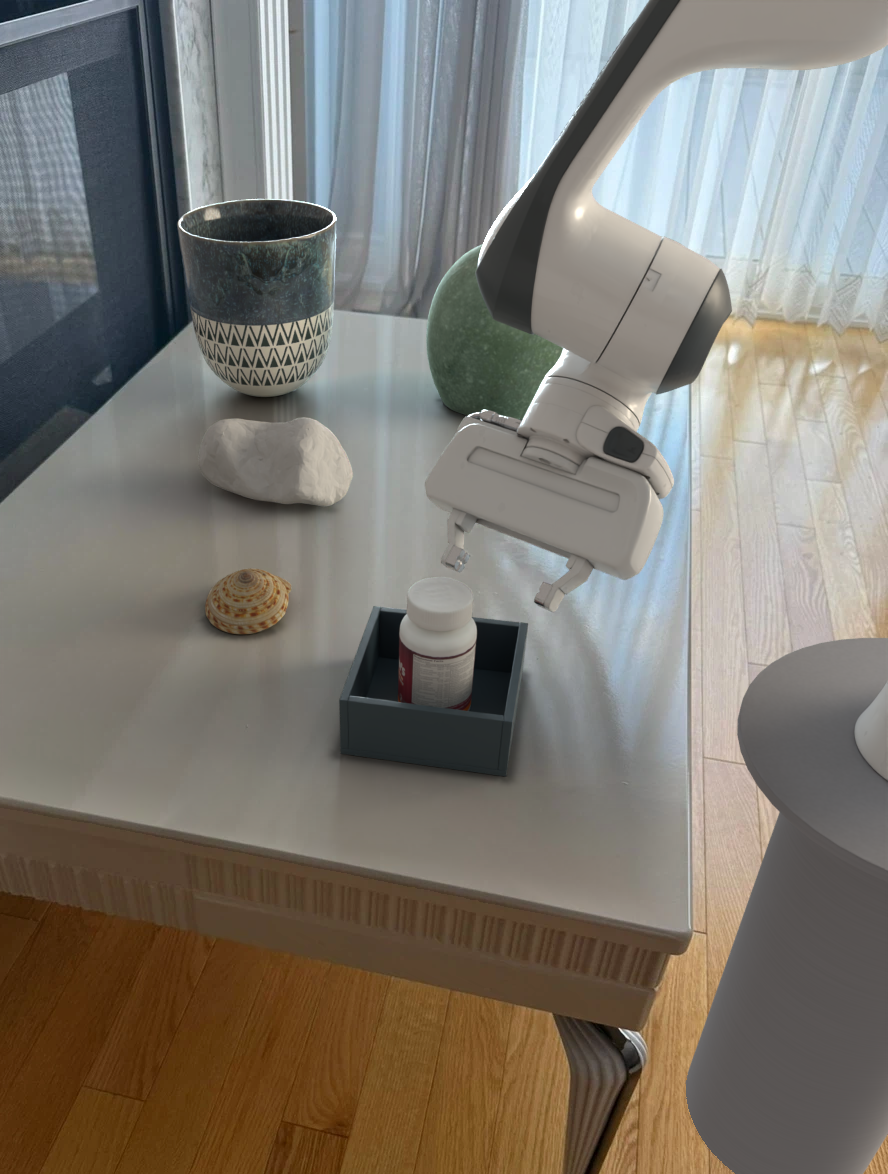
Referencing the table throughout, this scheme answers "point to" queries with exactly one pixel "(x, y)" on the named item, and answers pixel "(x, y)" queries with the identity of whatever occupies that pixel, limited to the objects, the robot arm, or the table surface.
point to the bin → (431, 731)
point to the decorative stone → (276, 461)
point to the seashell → (247, 601)
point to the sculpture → (481, 349)
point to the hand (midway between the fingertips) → (495, 587)
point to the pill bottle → (437, 645)
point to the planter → (261, 290)
